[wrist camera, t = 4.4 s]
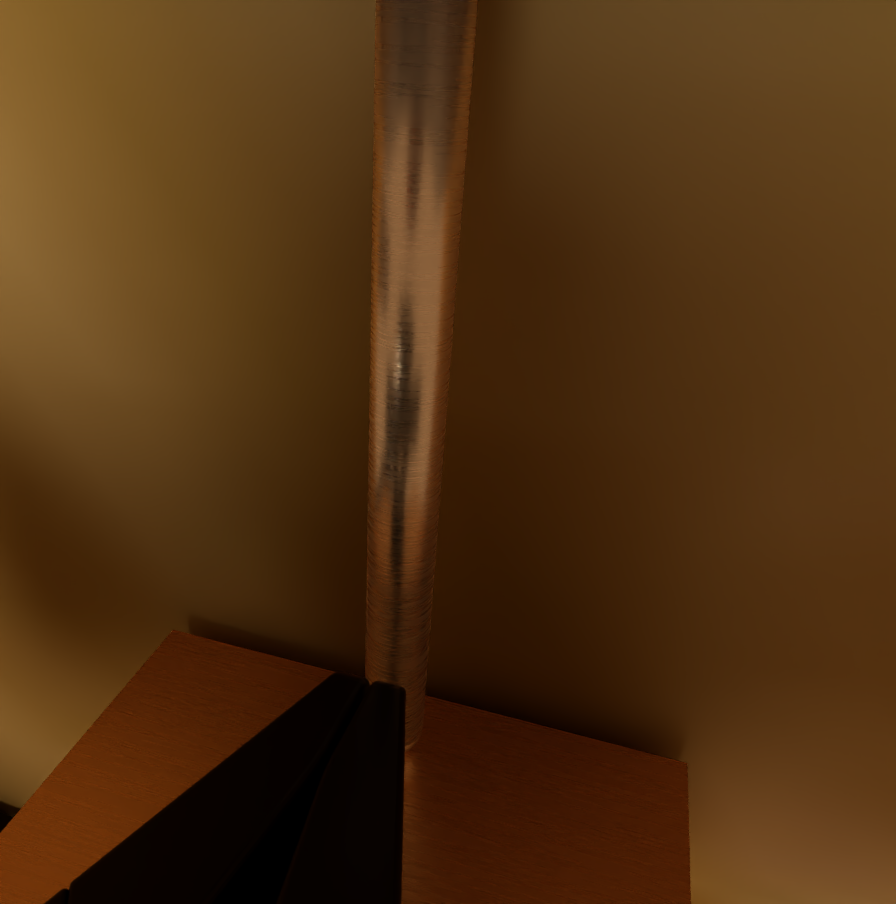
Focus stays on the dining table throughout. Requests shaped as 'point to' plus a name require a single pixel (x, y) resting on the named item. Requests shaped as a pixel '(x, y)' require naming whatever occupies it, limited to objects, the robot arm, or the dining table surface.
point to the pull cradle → (387, 604)
